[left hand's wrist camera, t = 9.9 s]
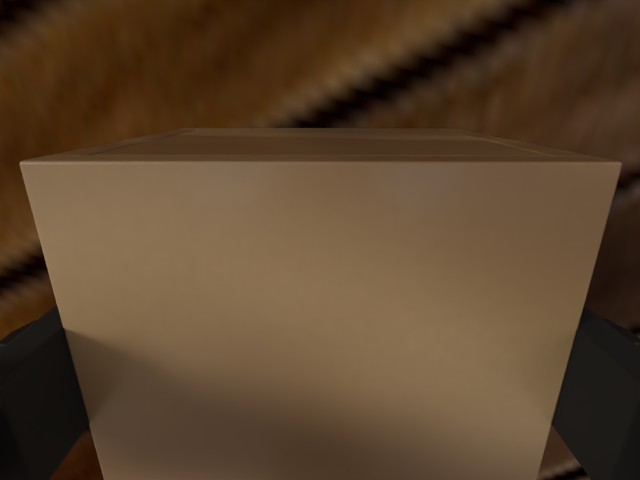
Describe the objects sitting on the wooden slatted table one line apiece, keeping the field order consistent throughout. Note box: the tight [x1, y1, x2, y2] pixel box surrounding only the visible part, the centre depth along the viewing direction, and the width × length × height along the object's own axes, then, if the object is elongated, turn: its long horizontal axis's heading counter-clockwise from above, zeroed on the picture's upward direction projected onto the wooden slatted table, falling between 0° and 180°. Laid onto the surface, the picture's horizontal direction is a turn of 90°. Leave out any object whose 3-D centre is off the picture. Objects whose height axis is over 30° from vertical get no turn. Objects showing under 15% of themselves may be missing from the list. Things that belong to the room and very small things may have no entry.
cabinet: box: [20, 128, 622, 480], centre depth 14 cm, size 16×11×9 cm
